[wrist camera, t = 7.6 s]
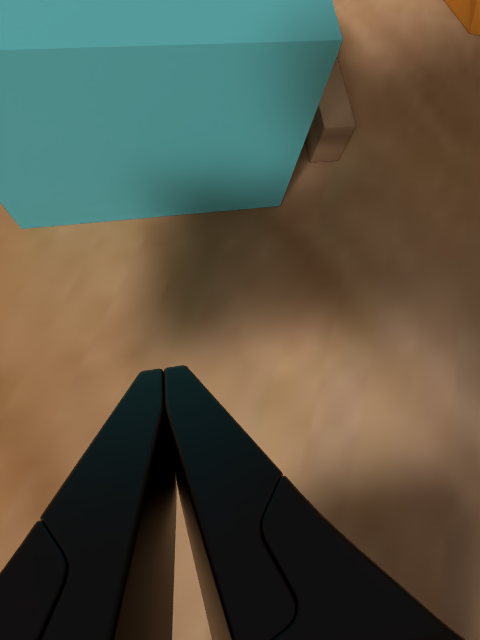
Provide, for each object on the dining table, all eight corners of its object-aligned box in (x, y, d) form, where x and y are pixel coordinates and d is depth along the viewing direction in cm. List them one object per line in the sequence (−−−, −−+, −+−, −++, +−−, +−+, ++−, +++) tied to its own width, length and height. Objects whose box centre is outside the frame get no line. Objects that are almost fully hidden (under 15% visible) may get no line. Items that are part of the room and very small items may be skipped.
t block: (280, 206, 21) (343, 39, 12) (21, 228, 19) (-122, 53, 10) (245, 37, 23) (276, -199, 15) (15, 43, 22) (-103, -220, 13)
